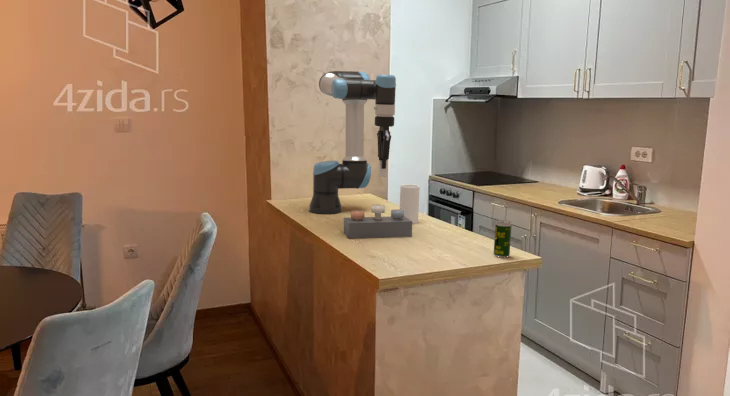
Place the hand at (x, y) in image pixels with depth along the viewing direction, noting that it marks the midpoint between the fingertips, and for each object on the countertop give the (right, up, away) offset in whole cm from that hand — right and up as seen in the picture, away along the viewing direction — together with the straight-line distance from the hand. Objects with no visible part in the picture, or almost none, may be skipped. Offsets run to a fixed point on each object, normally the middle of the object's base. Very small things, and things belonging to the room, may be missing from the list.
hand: (382, 176), depth 219 cm
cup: (+12, -19, +24) cm, 33 cm away
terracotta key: (-10, -21, -3) cm, 23 cm away
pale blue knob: (+6, -21, +1) cm, 21 cm away
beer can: (+40, -29, -27) cm, 56 cm away
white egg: (-2, -19, -1) cm, 19 cm away
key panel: (-2, -23, -1) cm, 23 cm away
